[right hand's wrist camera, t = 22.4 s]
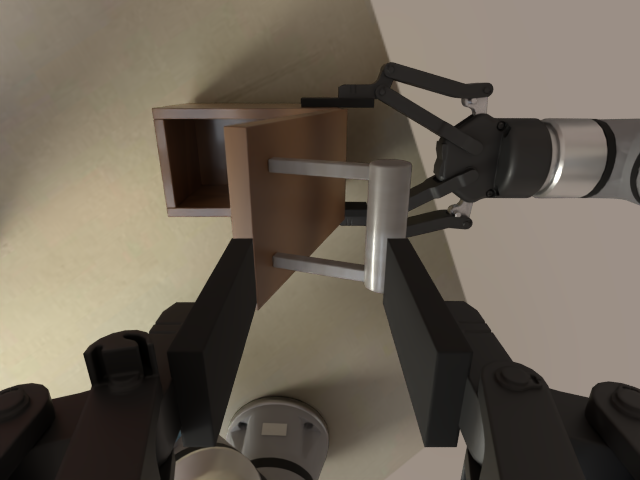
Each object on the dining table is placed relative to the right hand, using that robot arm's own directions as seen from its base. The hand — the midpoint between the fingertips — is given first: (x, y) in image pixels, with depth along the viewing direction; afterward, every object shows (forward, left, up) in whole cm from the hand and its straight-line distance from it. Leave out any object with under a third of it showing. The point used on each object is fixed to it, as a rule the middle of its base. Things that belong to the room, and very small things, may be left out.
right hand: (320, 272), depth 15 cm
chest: (-1, +7, -31) cm, 32 cm away
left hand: (0, +2, -25) cm, 25 cm away
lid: (0, +2, -13) cm, 13 cm away
